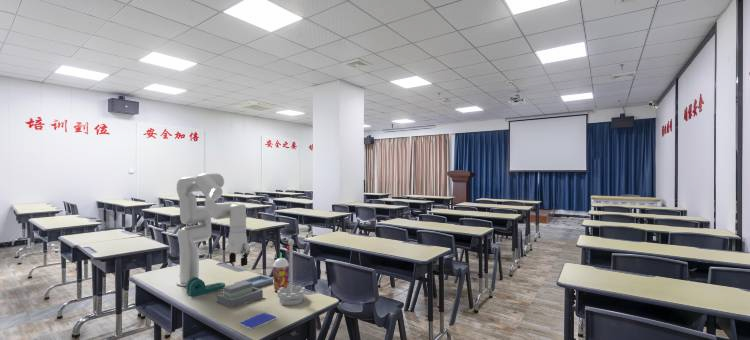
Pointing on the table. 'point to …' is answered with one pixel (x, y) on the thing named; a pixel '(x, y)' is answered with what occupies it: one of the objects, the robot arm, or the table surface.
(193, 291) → the bracket
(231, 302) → the bay
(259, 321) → the hard drive
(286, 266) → the smoothie
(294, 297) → the flag stand
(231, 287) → the gray rectangular block
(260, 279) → the tray
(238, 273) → the table surface
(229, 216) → the robot arm
